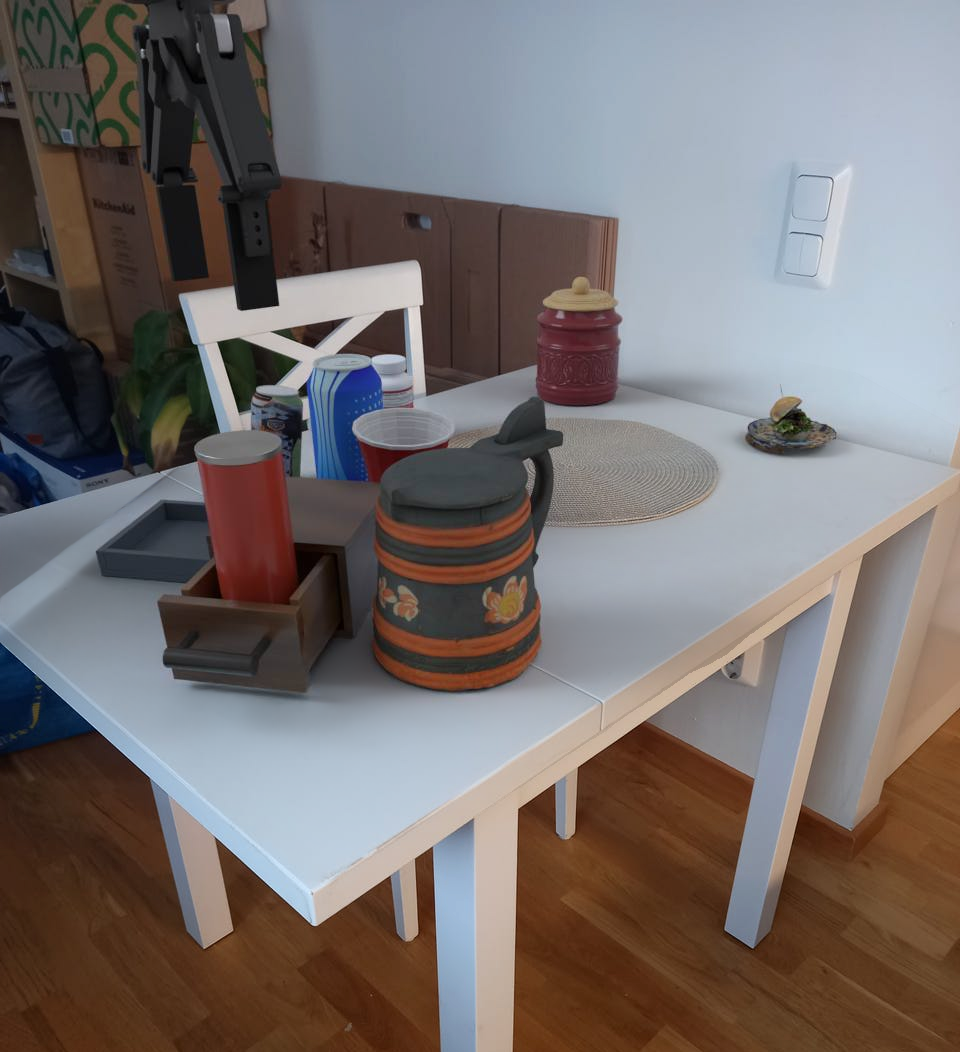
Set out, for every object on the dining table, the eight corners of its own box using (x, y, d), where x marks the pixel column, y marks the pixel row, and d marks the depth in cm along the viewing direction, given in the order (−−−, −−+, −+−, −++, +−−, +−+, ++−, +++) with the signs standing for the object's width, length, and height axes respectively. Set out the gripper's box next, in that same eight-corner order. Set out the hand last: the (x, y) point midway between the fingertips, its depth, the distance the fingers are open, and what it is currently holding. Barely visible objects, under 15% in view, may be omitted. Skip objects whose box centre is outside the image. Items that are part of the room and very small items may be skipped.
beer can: (360, 514, 106) (348, 374, 98) (304, 500, 110) (288, 364, 102) (402, 490, 112) (395, 357, 104) (348, 478, 116) (337, 348, 108)
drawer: (286, 724, 70) (273, 642, 66) (147, 709, 72) (128, 628, 68) (357, 611, 85) (350, 539, 81) (241, 601, 87) (229, 530, 83)
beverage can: (243, 484, 115) (228, 388, 108) (294, 470, 119) (283, 377, 113) (267, 499, 111) (254, 399, 104) (320, 484, 115) (310, 387, 108)
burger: (782, 463, 119) (792, 405, 115) (726, 436, 128) (733, 382, 124) (855, 449, 123) (866, 393, 119) (795, 424, 132) (804, 371, 129)
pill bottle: (371, 432, 132) (366, 353, 126) (414, 431, 132) (411, 352, 126) (370, 446, 126) (364, 365, 121) (415, 445, 127) (411, 363, 121)
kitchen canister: (627, 404, 141) (636, 283, 132) (543, 409, 140) (547, 286, 131) (605, 382, 152) (612, 268, 143) (528, 385, 151) (530, 271, 142)
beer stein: (477, 575, 93) (475, 375, 82) (601, 620, 85) (615, 405, 74) (338, 653, 80) (315, 429, 70) (468, 715, 72) (463, 471, 62)
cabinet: (353, 638, 82) (344, 546, 78) (221, 626, 84) (205, 535, 80) (397, 566, 95) (391, 482, 90) (281, 557, 97) (270, 475, 92)
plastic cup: (393, 557, 96) (385, 446, 90) (342, 523, 104) (332, 419, 98) (477, 531, 102) (475, 425, 96) (423, 501, 109) (418, 400, 103)
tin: (215, 651, 77) (178, 455, 68) (247, 613, 82) (216, 427, 74) (289, 658, 76) (261, 460, 67) (316, 620, 81) (294, 432, 73)
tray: (101, 575, 94) (95, 550, 92) (165, 522, 105) (161, 499, 104) (226, 586, 91) (222, 561, 90) (278, 530, 103) (275, 507, 101)
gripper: (312, -102, 49) (347, 314, 60) (164, -49, 67) (211, 264, 78) (172, -115, 45) (236, 330, 56) (55, -56, 63) (121, 274, 74)
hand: (222, 292), depth 67 cm, fingers open, 13 cm apart
